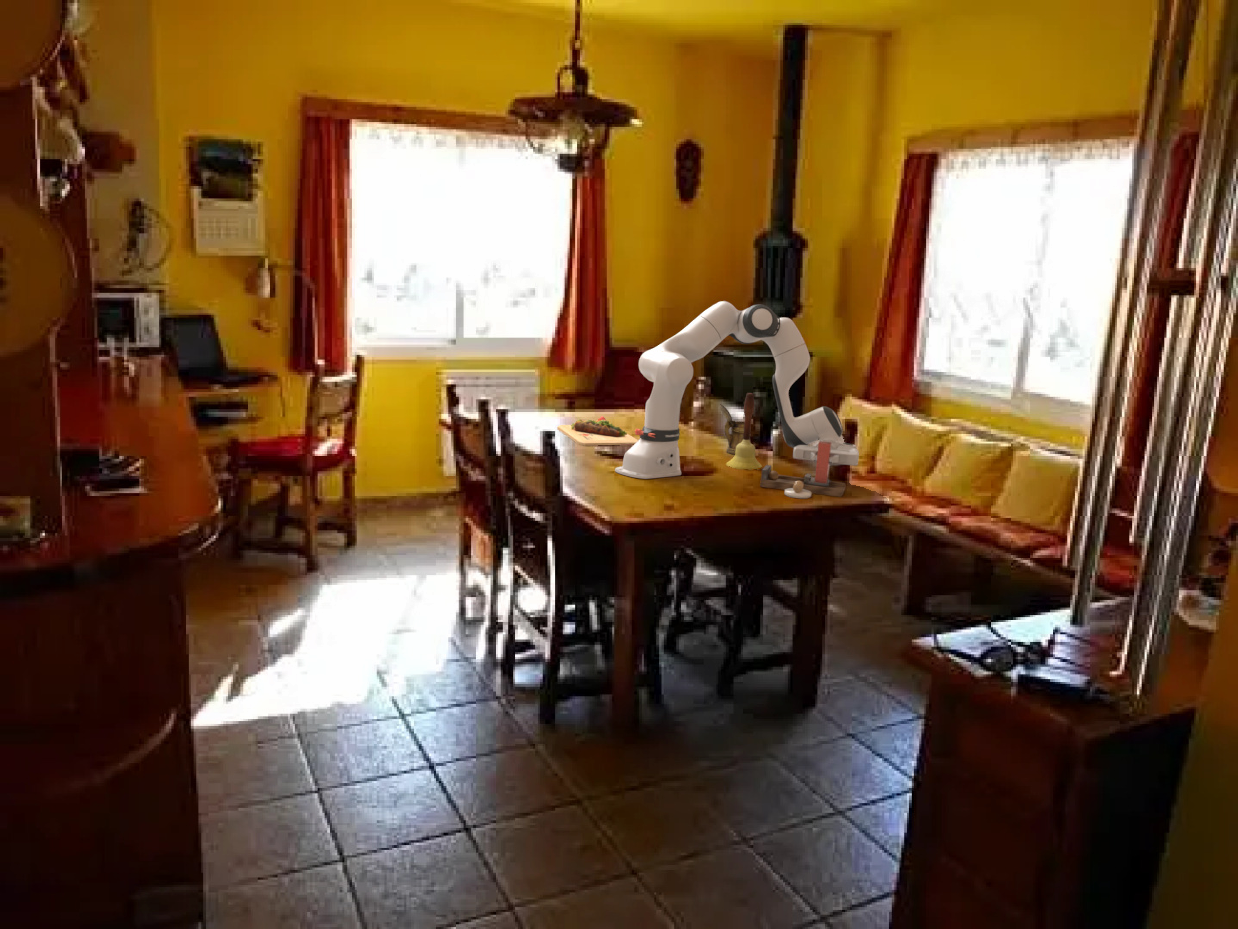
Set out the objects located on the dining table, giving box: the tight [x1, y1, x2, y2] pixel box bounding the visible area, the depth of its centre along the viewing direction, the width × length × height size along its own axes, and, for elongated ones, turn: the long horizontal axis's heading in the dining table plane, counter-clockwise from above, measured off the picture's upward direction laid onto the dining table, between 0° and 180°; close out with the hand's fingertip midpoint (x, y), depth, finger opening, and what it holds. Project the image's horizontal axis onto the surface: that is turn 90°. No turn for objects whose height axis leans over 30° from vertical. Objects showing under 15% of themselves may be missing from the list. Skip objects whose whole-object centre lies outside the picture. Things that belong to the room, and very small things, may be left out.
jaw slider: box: [803, 440, 832, 488], centre depth 299 cm, size 8×7×14 cm
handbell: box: [725, 392, 763, 471], centre depth 328 cm, size 12×12×25 cm
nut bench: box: [759, 464, 846, 498], centre depth 301 cm, size 25×10×5 cm, turn 71°
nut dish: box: [784, 481, 812, 499], centre depth 292 cm, size 8×8×4 cm
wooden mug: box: [719, 404, 752, 455], centre depth 349 cm, size 9×14×18 cm, turn 108°
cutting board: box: [556, 415, 639, 447], centre depth 368 cm, size 35×23×8 cm
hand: (823, 459), depth 297 cm, fingers closed on jaw slider, 3 cm apart
